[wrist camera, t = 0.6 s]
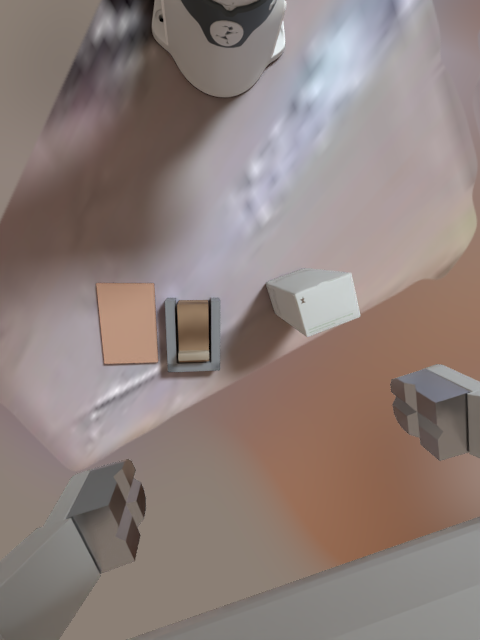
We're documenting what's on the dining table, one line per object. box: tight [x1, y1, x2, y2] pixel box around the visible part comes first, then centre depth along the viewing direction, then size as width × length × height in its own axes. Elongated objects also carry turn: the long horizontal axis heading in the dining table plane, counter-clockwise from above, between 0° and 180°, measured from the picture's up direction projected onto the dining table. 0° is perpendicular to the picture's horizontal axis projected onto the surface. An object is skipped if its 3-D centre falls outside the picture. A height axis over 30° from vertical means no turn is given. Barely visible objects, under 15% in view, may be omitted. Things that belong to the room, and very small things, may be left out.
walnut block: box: [177, 300, 209, 362], centre depth 48 cm, size 10×5×6 cm, turn 179°
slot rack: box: [165, 298, 220, 372], centre depth 49 cm, size 12×9×3 cm
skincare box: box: [266, 268, 360, 337], centre depth 44 cm, size 8×7×16 cm
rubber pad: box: [96, 283, 158, 364], centre depth 48 cm, size 14×9×1 cm, turn 179°
